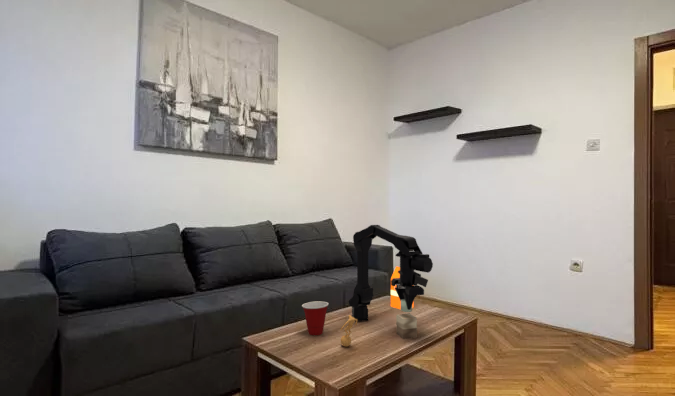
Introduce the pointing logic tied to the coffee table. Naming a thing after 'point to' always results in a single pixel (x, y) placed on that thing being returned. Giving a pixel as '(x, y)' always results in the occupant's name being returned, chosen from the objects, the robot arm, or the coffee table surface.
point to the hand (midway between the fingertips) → (406, 307)
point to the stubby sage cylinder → (404, 306)
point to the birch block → (406, 321)
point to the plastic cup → (315, 316)
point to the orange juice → (394, 296)
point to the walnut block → (406, 333)
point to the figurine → (346, 339)
